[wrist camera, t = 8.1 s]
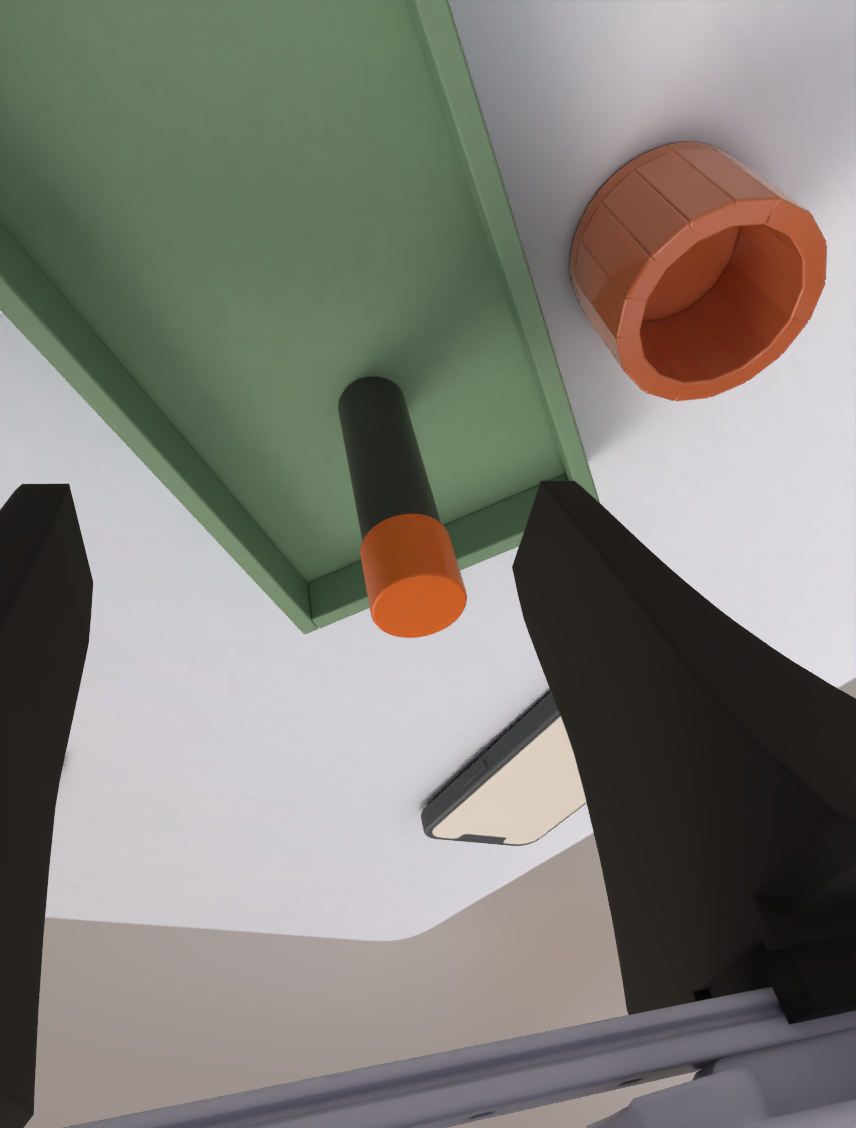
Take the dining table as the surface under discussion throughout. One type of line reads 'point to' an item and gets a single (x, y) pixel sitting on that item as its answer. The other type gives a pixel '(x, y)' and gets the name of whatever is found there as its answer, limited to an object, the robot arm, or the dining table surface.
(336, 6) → the tray
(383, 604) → the marker
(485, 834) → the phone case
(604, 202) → the pen pot
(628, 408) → the dining table surface
